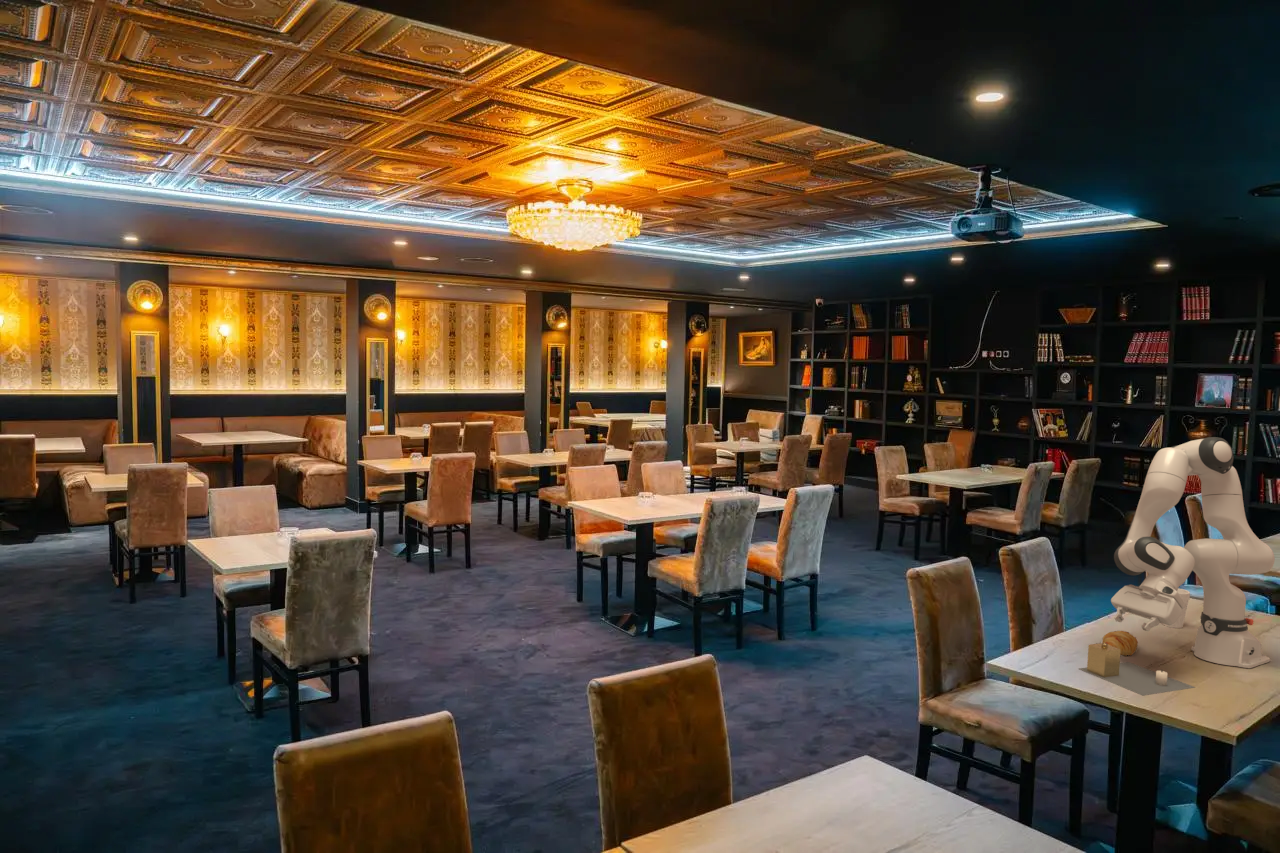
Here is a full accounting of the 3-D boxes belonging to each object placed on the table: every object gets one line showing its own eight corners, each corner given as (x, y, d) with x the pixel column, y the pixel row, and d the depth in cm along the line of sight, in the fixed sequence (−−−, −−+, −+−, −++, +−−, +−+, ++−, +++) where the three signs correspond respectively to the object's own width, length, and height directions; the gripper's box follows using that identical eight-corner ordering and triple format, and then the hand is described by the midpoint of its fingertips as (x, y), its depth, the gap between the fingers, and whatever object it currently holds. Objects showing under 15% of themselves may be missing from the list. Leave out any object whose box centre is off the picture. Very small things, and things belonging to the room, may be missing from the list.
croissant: (1112, 670, 269) (1125, 652, 266) (1084, 648, 276) (1097, 630, 272) (1141, 656, 282) (1154, 638, 278) (1113, 635, 289) (1126, 618, 285)
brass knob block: (1101, 668, 258) (1103, 639, 257) (1118, 675, 252) (1120, 645, 252) (1086, 670, 256) (1088, 641, 255) (1103, 677, 250) (1105, 647, 250)
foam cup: (1151, 622, 311) (1153, 587, 310) (1170, 620, 313) (1172, 586, 312) (1174, 630, 302) (1176, 594, 301) (1193, 628, 304) (1196, 593, 303)
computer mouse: (1160, 681, 248) (1161, 667, 248) (1168, 685, 245) (1170, 670, 245) (1153, 682, 247) (1154, 668, 247) (1162, 686, 244) (1163, 671, 244)
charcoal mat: (1128, 664, 265) (1128, 661, 265) (1195, 690, 244) (1195, 687, 244) (1077, 671, 257) (1077, 668, 257) (1142, 698, 237) (1142, 695, 237)
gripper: (1122, 576, 269) (1096, 609, 266) (1181, 593, 250) (1155, 627, 247) (1131, 589, 271) (1106, 621, 268) (1191, 606, 251) (1165, 641, 249)
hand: (1130, 624), depth 257 cm, fingers open, 8 cm apart
